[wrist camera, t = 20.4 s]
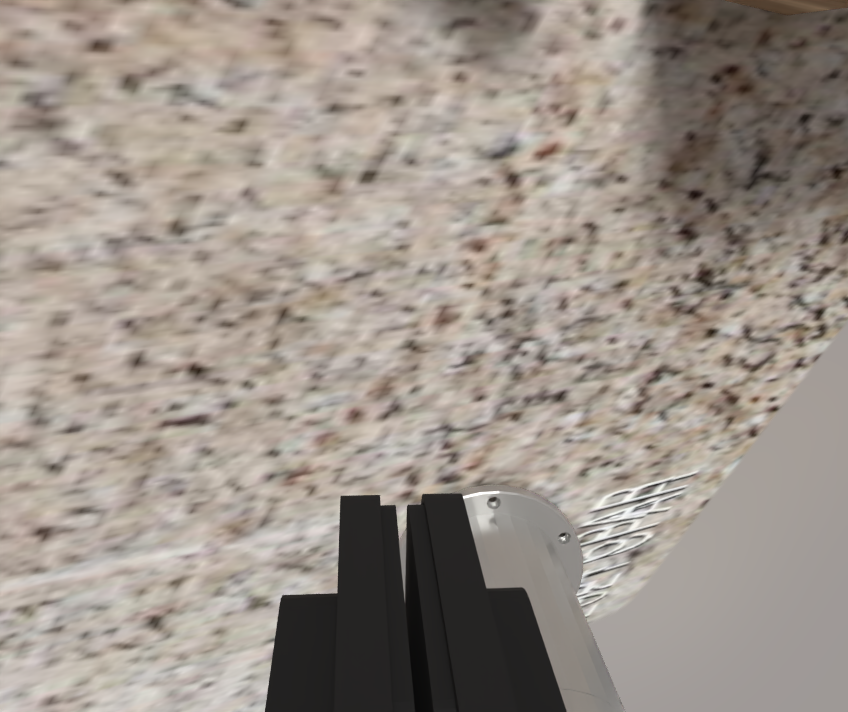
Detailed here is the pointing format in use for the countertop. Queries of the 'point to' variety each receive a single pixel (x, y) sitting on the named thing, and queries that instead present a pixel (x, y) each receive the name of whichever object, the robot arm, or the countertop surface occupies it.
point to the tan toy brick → (794, 5)
